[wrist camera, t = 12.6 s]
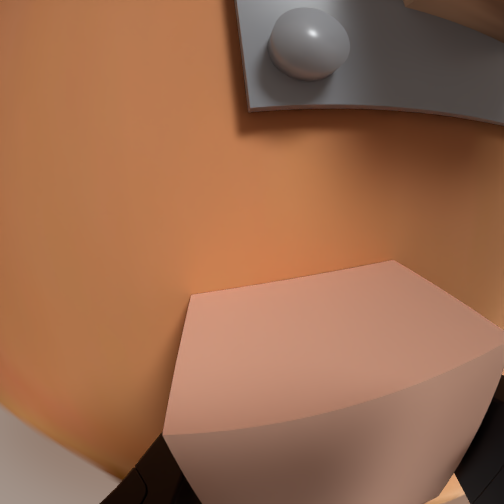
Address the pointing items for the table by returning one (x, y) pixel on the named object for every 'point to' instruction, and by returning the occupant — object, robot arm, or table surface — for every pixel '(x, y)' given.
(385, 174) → the table surface
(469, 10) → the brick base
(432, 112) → the baseplate
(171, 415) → the pink cube
